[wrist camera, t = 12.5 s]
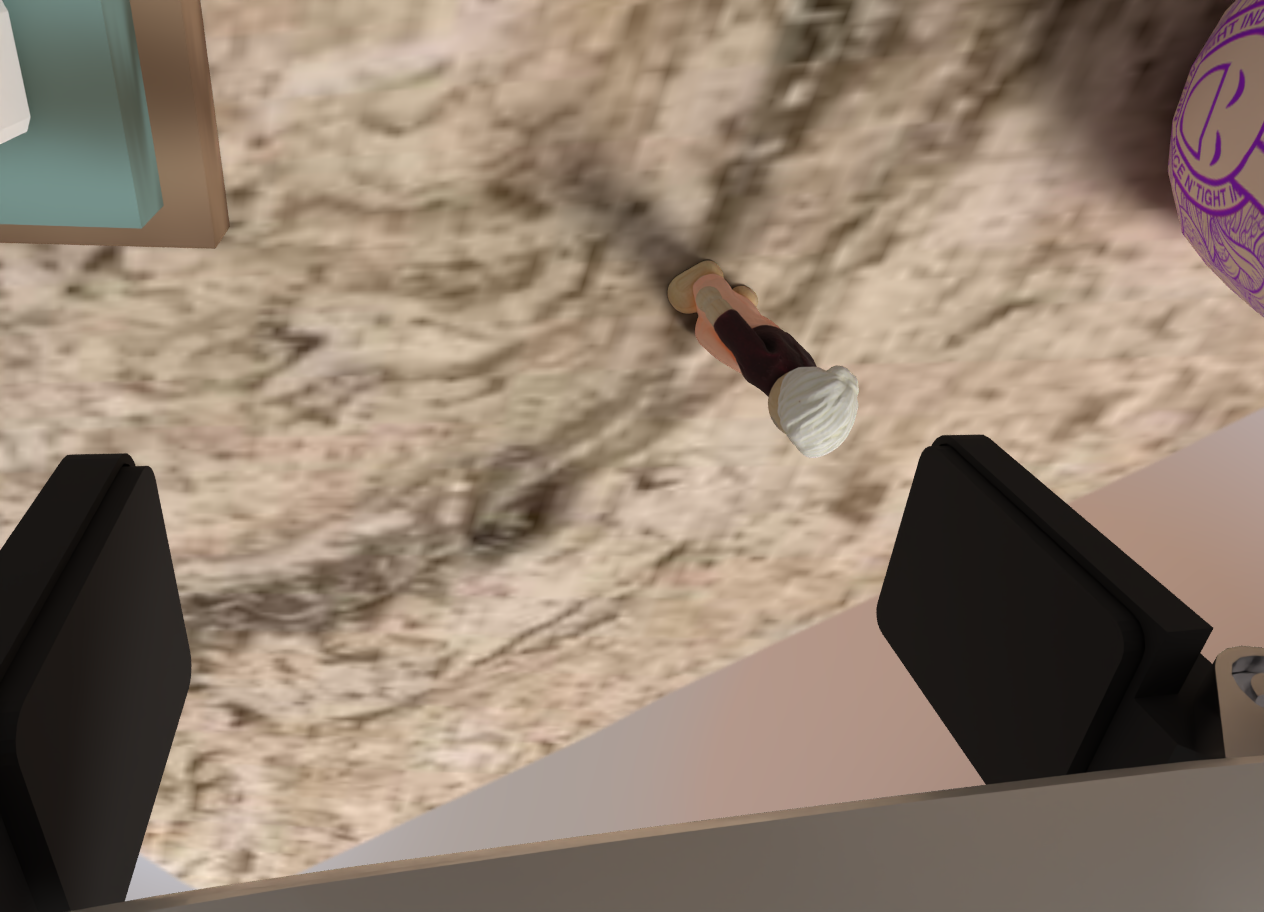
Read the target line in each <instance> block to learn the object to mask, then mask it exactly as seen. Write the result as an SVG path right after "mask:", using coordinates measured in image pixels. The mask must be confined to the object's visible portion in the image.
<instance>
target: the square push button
mask: <svg viewBox="0 0 1264 912" xmlns="http://www.w3.org/2000/svg"><path fill="white" fill-rule="evenodd" d="M2 1H3V3H4V5H5V7H6V9H7V10H8V13H9V18H10V22H11V27H12V32H13V37H14V41H15V46H16V51H17V55H18V60H19V65H20V69H21V74H22V79H23V84H24V88H25V93H26V98H27V102H28V107H29V112H30V121H29V125H28V130H27V132H25V133H23V134H21V135H19V136H17V137H14V138H12V139H10V140H8V141H6V142H4V143H2V144H0V243H32V244H68V245H105V246H141V247H177V248H214V249H215V248H216V247H217V245H218V244H219V242H220V241H221V239H222V238H223V236H224V235H225V233H226V232H227V230H228V228H229V227H230V224H229V217H228V209H227V202H226V194H225V186H224V179H223V171H222V163H221V156H220V148H219V141H218V133H217V125H216V118H215V110H214V102H213V95H212V87H211V80H210V72H209V64H208V57H207V49H206V41H205V34H204V26H203V19H202V11H201V3H200V0H2Z"/></svg>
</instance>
